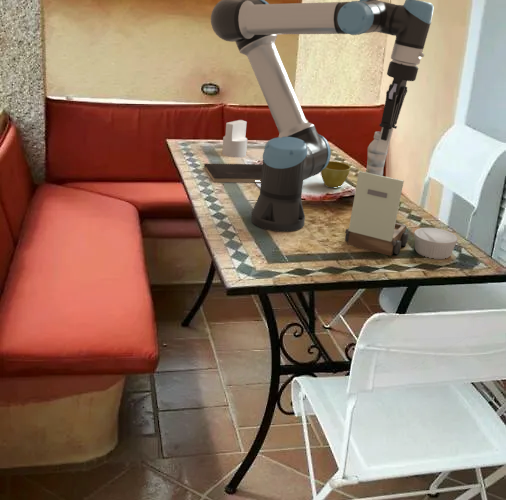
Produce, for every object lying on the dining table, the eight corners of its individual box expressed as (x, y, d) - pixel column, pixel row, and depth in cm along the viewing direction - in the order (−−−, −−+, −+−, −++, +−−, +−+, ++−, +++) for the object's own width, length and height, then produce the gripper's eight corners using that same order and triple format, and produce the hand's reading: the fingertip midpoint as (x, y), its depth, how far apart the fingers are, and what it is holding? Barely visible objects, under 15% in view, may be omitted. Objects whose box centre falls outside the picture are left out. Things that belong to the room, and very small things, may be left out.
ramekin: (403, 250, 189) (406, 232, 186) (425, 241, 196) (429, 224, 194) (439, 265, 181) (443, 246, 179) (461, 255, 189) (465, 237, 187)
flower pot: (333, 192, 230) (336, 171, 227) (311, 183, 237) (314, 163, 234) (353, 188, 236) (356, 167, 233) (331, 179, 243) (334, 159, 240)
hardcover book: (280, 184, 235) (281, 177, 234) (213, 184, 229) (213, 177, 228) (267, 170, 249) (268, 163, 248) (203, 169, 243) (204, 163, 242)
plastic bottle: (381, 196, 230) (391, 136, 223) (360, 193, 231) (369, 133, 224) (381, 190, 236) (391, 132, 228) (361, 187, 237) (370, 129, 230)
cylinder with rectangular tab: (231, 149, 269) (234, 118, 264) (250, 154, 264) (253, 123, 259) (217, 153, 262) (219, 121, 257) (236, 158, 257) (238, 126, 252)
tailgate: (349, 230, 186) (360, 171, 181) (391, 240, 181) (403, 180, 176) (348, 231, 185) (358, 171, 180) (390, 241, 180) (402, 181, 175)
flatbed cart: (358, 230, 199) (360, 214, 197) (407, 243, 193) (410, 226, 192) (341, 245, 188) (344, 227, 186) (393, 258, 182) (397, 240, 180)
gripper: (412, 67, 174) (388, 158, 183) (424, 65, 185) (400, 151, 194) (384, 60, 177) (361, 151, 185) (396, 58, 188) (375, 144, 197)
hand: (381, 151), depth 190 cm, fingers closed
